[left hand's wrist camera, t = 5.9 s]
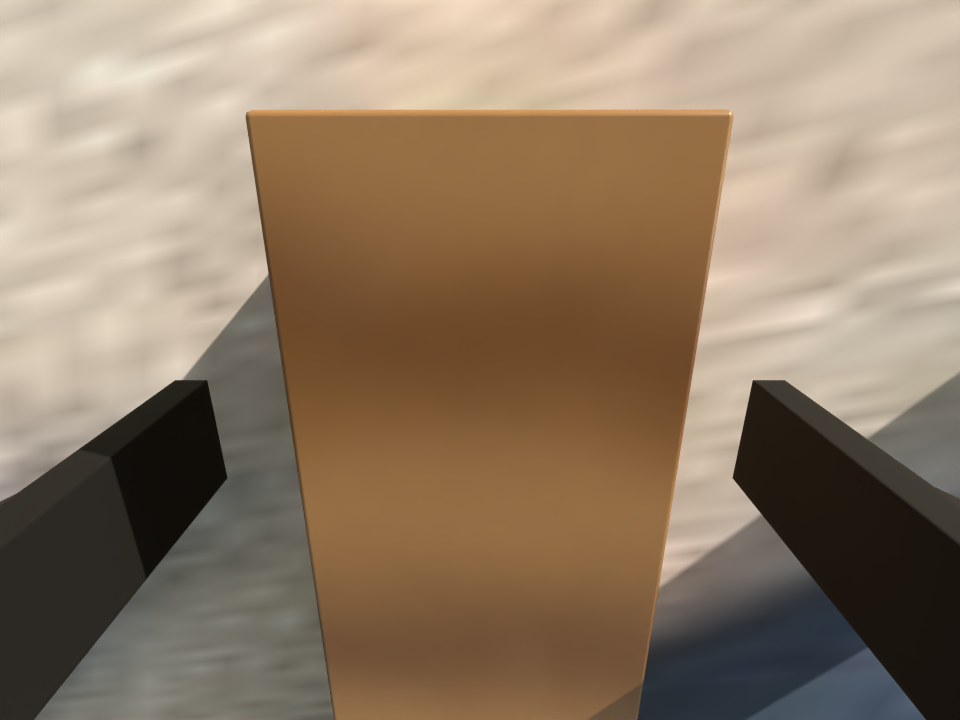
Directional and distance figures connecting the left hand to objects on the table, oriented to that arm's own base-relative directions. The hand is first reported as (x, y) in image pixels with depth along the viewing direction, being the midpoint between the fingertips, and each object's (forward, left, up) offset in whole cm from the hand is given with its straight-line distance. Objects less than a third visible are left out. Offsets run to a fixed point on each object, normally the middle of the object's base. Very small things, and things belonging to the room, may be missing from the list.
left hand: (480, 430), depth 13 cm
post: (+2, +23, -3) cm, 23 cm away
